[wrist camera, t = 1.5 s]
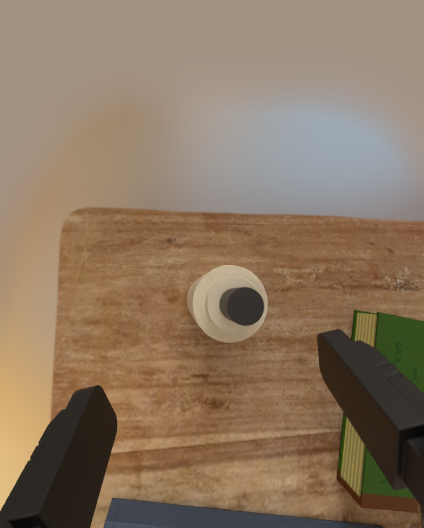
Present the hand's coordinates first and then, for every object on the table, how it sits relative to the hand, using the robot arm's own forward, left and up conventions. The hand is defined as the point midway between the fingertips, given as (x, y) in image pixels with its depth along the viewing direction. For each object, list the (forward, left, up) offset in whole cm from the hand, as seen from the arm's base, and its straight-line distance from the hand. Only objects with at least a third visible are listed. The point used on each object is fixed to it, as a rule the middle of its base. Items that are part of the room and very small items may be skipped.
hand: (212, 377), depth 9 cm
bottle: (+2, +3, -19) cm, 19 cm away
